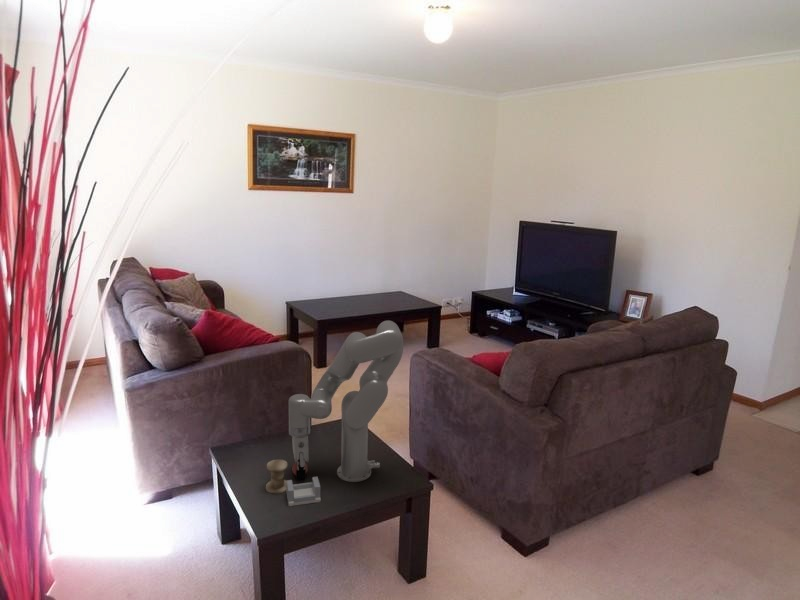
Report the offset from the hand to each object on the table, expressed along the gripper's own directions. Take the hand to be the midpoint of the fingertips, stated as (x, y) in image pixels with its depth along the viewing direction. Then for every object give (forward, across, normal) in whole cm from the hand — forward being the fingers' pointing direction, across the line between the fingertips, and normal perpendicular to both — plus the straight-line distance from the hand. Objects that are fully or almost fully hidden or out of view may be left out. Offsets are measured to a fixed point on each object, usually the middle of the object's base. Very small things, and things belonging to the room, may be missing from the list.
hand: (299, 474), depth 197 cm
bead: (+1, 0, 0) cm, 1 cm away
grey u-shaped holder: (0, -14, 0) cm, 14 cm away
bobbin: (0, -6, +8) cm, 10 cm away
